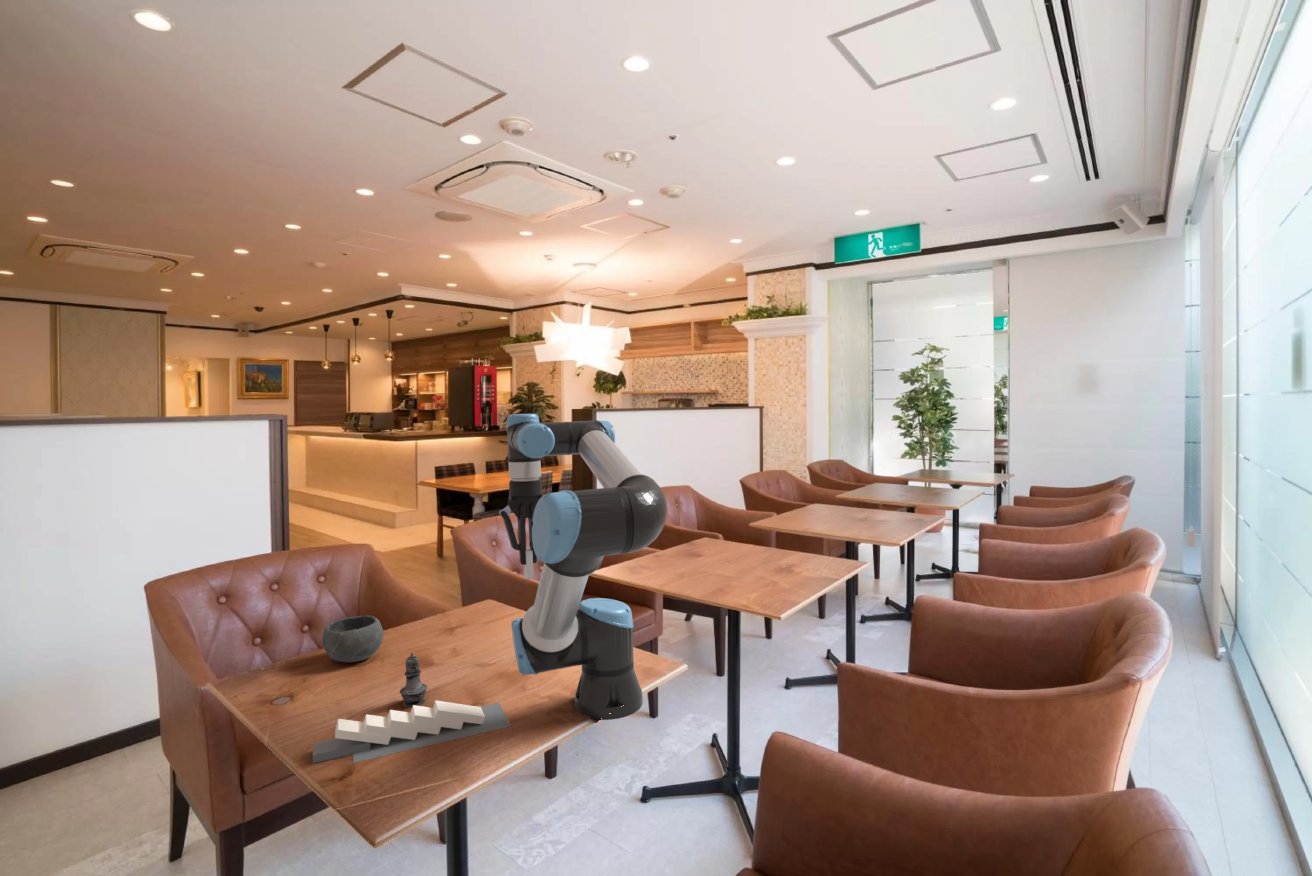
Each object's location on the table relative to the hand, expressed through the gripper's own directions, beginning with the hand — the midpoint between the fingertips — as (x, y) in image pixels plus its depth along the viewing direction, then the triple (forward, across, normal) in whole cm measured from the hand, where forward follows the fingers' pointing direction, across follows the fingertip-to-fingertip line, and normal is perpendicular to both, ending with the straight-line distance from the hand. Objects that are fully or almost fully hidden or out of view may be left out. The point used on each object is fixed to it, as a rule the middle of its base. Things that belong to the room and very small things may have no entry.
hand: (529, 577), depth 156 cm
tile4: (+25, +28, +12) cm, 40 cm away
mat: (+26, +24, +12) cm, 38 cm away
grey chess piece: (+27, +27, -3) cm, 38 cm away
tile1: (+25, +14, +12) cm, 32 cm away
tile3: (+25, +23, +12) cm, 36 cm away
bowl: (+27, +39, -40) cm, 62 cm away
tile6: (+25, +36, +12) cm, 46 cm away
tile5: (+25, +33, +12) cm, 43 cm away
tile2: (+25, +19, +12) cm, 34 cm away
